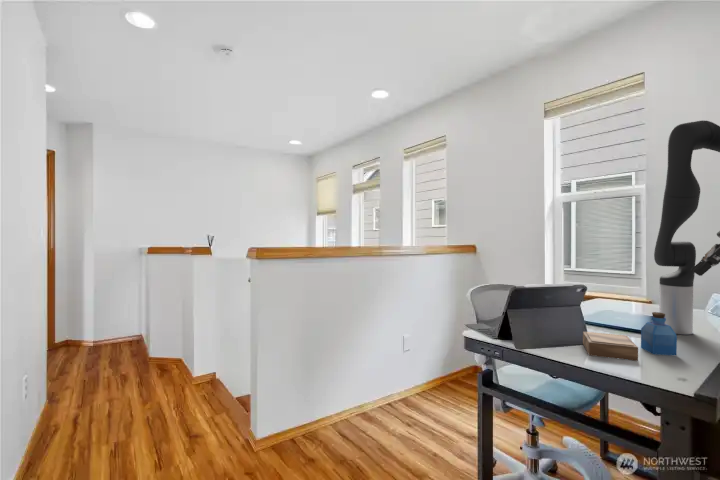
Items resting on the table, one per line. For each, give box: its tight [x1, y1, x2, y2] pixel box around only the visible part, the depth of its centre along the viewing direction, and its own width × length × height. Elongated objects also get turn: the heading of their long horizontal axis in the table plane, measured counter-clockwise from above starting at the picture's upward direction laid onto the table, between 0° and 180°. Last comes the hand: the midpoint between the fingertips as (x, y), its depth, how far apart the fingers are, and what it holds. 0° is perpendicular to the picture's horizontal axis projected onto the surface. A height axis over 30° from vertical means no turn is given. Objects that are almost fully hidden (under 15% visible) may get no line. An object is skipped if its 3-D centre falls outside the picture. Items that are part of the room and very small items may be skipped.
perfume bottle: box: [640, 311, 678, 356], centre depth 108 cm, size 6×6×12 cm
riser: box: [582, 331, 639, 362], centre depth 109 cm, size 12×12×4 cm
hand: (695, 273), depth 102 cm, fingers open, 8 cm apart
